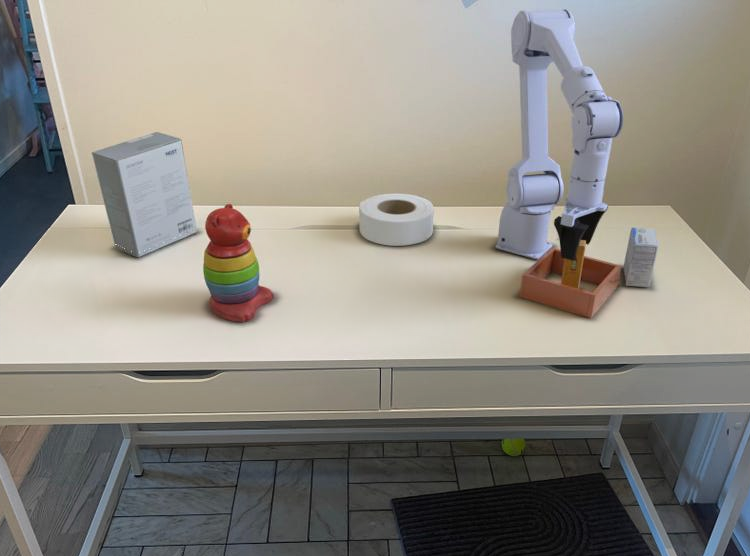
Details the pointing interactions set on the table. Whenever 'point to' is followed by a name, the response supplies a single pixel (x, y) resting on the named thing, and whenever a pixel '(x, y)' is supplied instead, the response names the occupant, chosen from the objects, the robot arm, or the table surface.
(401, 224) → the tape roll
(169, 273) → the table surface
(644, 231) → the medicine box
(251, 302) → the stacking bear
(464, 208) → the table surface
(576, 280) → the supplement box
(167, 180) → the hard drive box
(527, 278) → the terracotta planter box
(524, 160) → the robot arm
